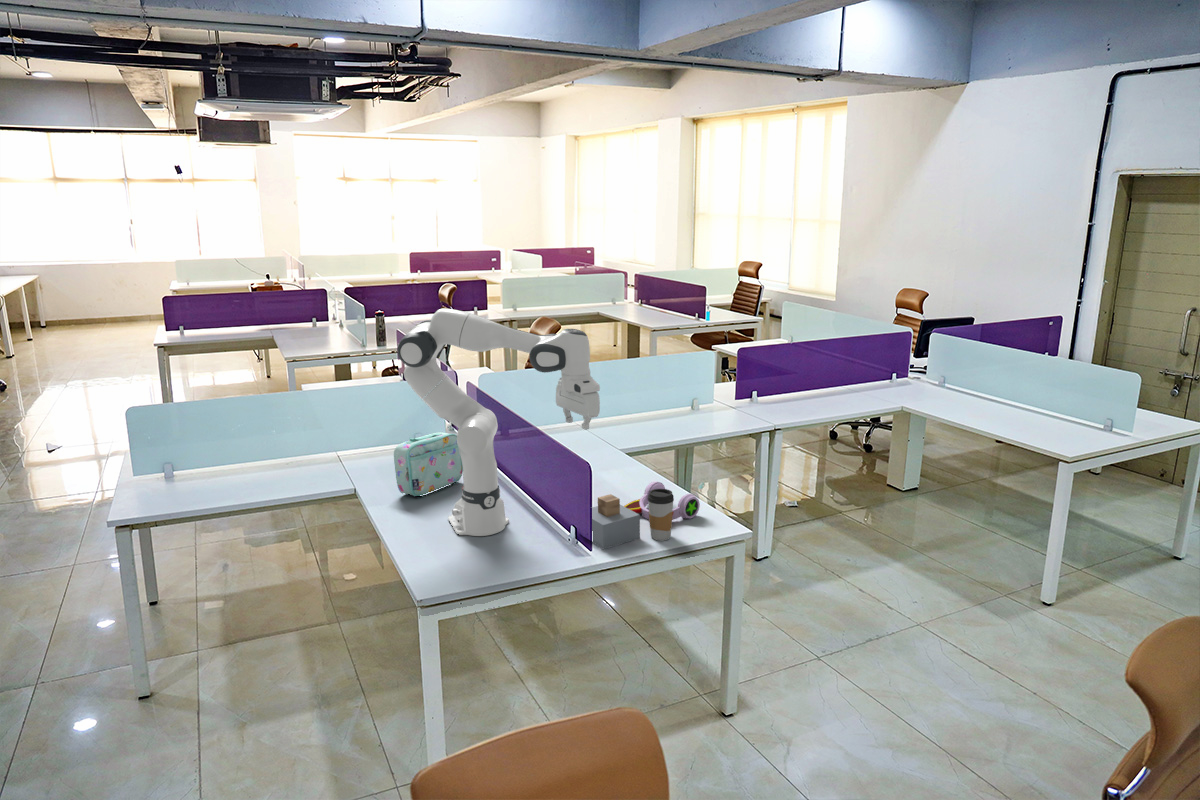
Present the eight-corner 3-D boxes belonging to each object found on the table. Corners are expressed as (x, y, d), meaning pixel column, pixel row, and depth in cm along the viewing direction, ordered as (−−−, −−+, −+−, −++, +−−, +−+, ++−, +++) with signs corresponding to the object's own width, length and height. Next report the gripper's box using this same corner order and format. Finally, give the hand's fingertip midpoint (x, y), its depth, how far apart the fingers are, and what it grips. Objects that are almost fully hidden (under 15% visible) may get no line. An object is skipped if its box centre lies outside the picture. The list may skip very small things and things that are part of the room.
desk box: (579, 534, 263) (578, 511, 261) (614, 524, 270) (614, 501, 269) (603, 549, 252) (603, 525, 250) (639, 538, 259) (639, 514, 257)
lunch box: (411, 503, 292) (407, 446, 287) (393, 497, 298) (388, 441, 293) (466, 482, 313) (463, 428, 308) (447, 477, 319) (444, 424, 314)
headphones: (701, 494, 275) (658, 501, 262) (699, 522, 277) (655, 530, 264) (662, 479, 290) (619, 485, 277) (659, 505, 292) (616, 513, 279)
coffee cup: (657, 529, 266) (657, 486, 262) (678, 535, 260) (679, 491, 257) (642, 537, 260) (642, 493, 256) (663, 544, 254) (663, 499, 251)
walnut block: (597, 512, 260) (597, 497, 259) (610, 508, 262) (610, 494, 261) (606, 517, 256) (606, 502, 255) (619, 513, 258) (619, 498, 257)
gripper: (550, 377, 255) (551, 420, 258) (585, 389, 239) (586, 434, 242) (567, 374, 258) (568, 416, 262) (603, 386, 242) (603, 431, 245)
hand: (577, 425), depth 252 cm, fingers open, 8 cm apart
